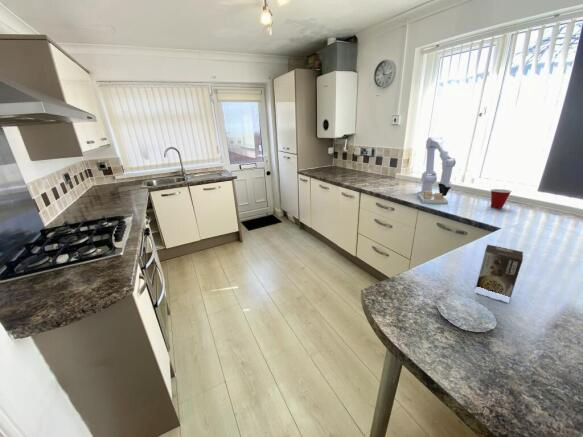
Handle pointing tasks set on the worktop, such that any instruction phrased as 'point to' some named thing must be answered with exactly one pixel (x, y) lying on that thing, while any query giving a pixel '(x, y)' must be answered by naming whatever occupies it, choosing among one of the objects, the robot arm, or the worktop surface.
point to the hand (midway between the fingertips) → (442, 194)
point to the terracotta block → (438, 196)
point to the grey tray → (432, 199)
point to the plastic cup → (499, 197)
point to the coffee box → (499, 270)
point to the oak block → (427, 194)
